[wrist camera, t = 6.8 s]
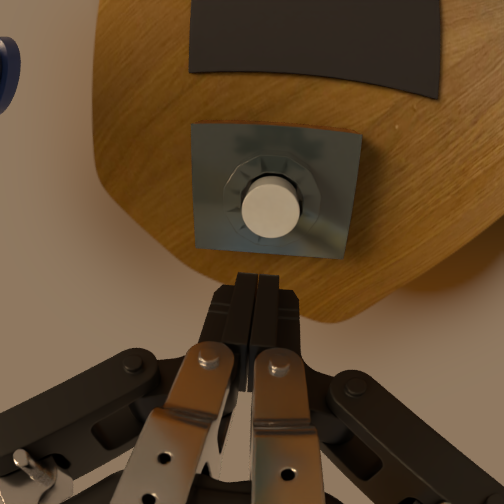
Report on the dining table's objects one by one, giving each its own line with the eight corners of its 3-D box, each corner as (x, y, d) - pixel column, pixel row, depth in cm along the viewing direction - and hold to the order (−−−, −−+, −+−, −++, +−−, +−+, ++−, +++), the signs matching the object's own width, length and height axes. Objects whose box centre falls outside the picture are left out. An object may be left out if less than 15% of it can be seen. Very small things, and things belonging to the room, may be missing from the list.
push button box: (204, 232, 27) (188, 260, 23) (201, 120, 22) (181, 126, 18) (338, 242, 26) (347, 273, 22) (353, 129, 22) (370, 138, 17)
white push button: (244, 223, 22) (241, 236, 20) (246, 173, 20) (241, 182, 18) (296, 227, 21) (296, 240, 20) (300, 177, 20) (302, 186, 18)
